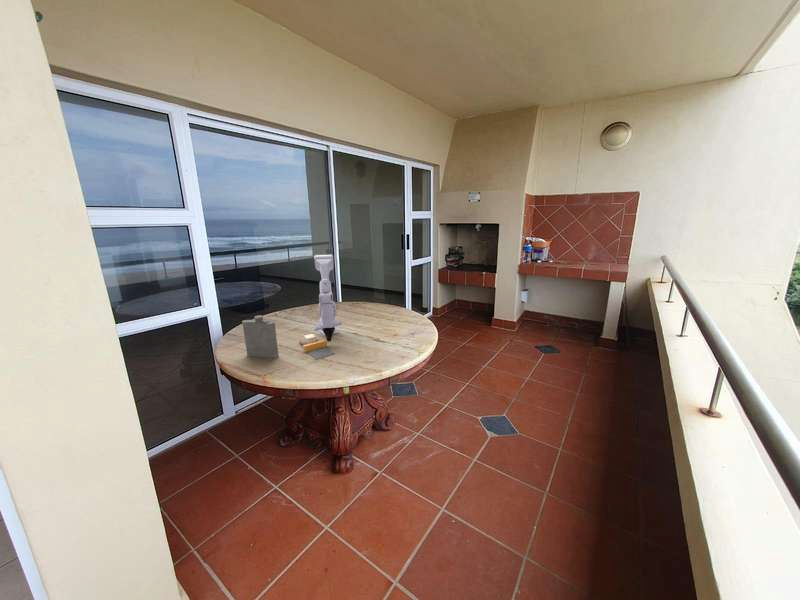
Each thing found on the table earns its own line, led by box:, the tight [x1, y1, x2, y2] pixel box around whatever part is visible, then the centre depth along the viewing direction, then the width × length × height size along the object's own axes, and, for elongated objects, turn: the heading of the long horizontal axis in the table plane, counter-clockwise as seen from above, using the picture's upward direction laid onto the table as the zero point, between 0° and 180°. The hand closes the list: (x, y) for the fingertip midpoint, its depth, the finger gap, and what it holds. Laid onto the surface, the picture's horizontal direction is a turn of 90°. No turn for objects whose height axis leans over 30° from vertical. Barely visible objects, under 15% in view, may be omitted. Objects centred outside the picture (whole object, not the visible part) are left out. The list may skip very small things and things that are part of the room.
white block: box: [303, 333, 317, 344], centre depth 165 cm, size 4×4×5 cm
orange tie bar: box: [302, 339, 328, 353], centre depth 161 cm, size 2×12×3 cm, turn 127°
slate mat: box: [307, 346, 336, 361], centre depth 156 cm, size 10×10×1 cm
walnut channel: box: [298, 337, 320, 347], centre depth 166 cm, size 10×8×2 cm
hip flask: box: [241, 314, 279, 359], centre depth 151 cm, size 16×4×20 cm, turn 80°
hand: (329, 340), depth 165 cm, fingers closed
